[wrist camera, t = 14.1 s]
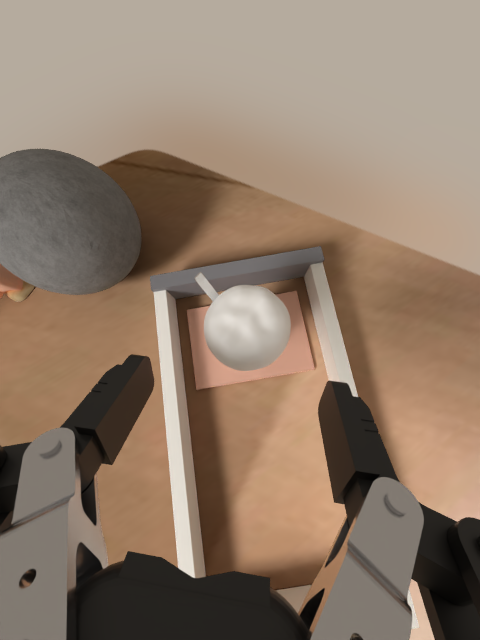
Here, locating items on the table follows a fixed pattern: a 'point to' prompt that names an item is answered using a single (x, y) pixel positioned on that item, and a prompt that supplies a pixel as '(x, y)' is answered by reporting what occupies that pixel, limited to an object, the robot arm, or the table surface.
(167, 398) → the tray
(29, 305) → the table surface
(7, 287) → the grandmother figurine
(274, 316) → the milkshake
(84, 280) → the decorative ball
